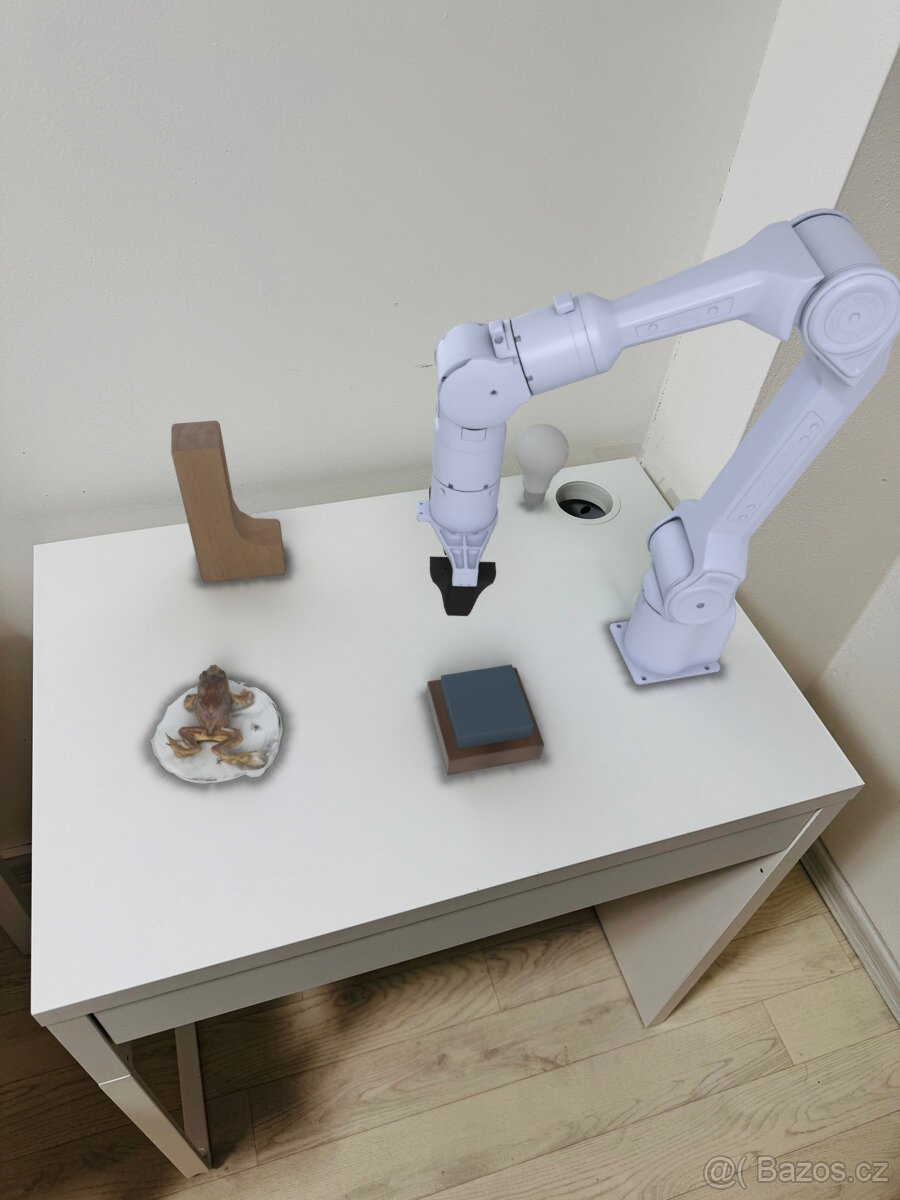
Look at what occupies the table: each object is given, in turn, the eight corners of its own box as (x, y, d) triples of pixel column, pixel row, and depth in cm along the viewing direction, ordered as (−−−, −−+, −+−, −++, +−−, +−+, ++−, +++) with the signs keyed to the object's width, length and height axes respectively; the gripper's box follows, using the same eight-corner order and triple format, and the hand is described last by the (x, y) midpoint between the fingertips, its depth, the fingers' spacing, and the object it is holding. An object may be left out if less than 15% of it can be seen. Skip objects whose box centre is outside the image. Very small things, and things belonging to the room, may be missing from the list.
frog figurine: (152, 688, 81) (144, 664, 78) (278, 673, 83) (275, 649, 80) (148, 793, 73) (138, 771, 71) (286, 774, 76) (282, 752, 73)
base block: (513, 681, 84) (516, 666, 82) (540, 758, 78) (544, 744, 76) (426, 696, 82) (427, 681, 80) (447, 775, 76) (448, 761, 75)
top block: (509, 676, 81) (512, 664, 80) (530, 737, 77) (533, 724, 75) (439, 687, 80) (440, 675, 78) (457, 750, 75) (458, 738, 74)
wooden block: (283, 546, 95) (266, 414, 81) (286, 575, 92) (270, 443, 78) (201, 555, 93) (170, 422, 80) (202, 584, 90) (170, 451, 77)
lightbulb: (554, 523, 100) (570, 450, 92) (504, 514, 100) (515, 441, 92) (560, 491, 104) (575, 418, 96) (512, 482, 104) (523, 409, 96)
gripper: (418, 414, 73) (414, 527, 83) (417, 529, 64) (413, 641, 74) (498, 417, 74) (484, 529, 84) (509, 531, 64) (493, 642, 74)
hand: (456, 582), depth 79 cm, fingers open, 7 cm apart
